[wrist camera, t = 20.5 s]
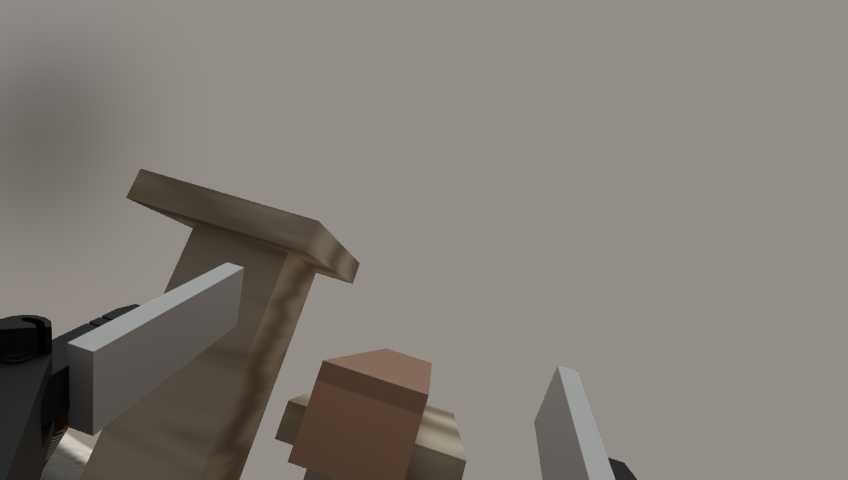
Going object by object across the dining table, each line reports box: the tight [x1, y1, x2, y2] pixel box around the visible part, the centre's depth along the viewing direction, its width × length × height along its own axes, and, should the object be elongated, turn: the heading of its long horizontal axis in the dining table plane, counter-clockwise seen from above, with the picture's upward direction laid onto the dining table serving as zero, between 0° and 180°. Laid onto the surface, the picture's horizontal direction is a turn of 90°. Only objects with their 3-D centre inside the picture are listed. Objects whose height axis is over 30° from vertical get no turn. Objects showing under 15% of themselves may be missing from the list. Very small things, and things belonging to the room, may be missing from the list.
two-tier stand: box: [80, 169, 466, 480], centre depth 28 cm, size 14×24×30 cm, turn 89°
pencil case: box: [288, 349, 431, 480], centre depth 24 cm, size 20×4×4 cm, turn 179°
